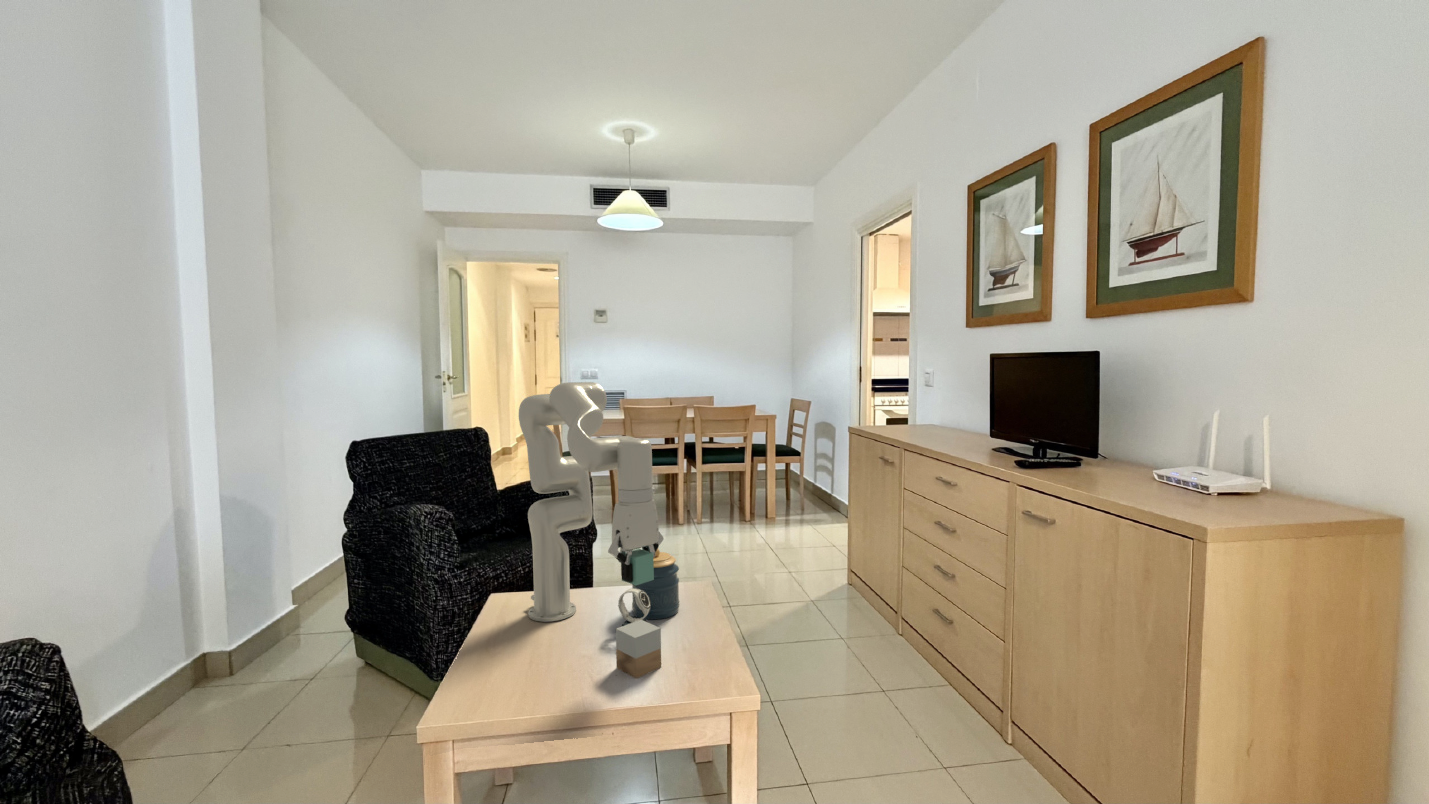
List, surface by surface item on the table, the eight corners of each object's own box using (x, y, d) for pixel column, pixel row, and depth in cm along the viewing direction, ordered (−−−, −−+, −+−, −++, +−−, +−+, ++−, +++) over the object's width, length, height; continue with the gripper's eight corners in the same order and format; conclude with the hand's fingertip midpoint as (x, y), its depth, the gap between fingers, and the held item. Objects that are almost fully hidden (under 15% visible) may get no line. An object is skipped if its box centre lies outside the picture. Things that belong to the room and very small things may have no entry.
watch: (645, 639, 151) (645, 595, 150) (615, 636, 153) (614, 592, 152) (653, 630, 156) (653, 587, 156) (624, 627, 158) (623, 585, 158)
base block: (616, 668, 136) (616, 648, 136) (641, 658, 141) (640, 638, 141) (636, 679, 131) (636, 658, 131) (661, 667, 136) (660, 647, 136)
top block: (616, 648, 136) (615, 628, 136) (641, 638, 141) (641, 619, 141) (635, 658, 131) (635, 637, 131) (660, 648, 136) (660, 628, 136)
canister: (666, 599, 178) (665, 539, 177) (687, 614, 166) (686, 549, 166) (624, 608, 171) (623, 545, 170) (643, 624, 160) (642, 557, 159)
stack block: (621, 580, 135) (621, 553, 135) (639, 575, 139) (638, 548, 139) (636, 585, 132) (635, 557, 131) (653, 579, 135) (653, 552, 135)
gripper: (654, 488, 143) (655, 565, 144) (593, 499, 131) (595, 584, 132) (675, 492, 138) (677, 572, 139) (614, 504, 126) (616, 591, 127)
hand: (637, 576), depth 135 cm, fingers closed on stack block, 5 cm apart
